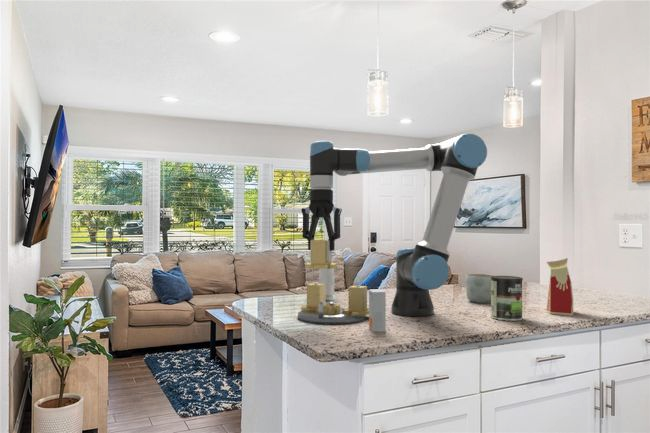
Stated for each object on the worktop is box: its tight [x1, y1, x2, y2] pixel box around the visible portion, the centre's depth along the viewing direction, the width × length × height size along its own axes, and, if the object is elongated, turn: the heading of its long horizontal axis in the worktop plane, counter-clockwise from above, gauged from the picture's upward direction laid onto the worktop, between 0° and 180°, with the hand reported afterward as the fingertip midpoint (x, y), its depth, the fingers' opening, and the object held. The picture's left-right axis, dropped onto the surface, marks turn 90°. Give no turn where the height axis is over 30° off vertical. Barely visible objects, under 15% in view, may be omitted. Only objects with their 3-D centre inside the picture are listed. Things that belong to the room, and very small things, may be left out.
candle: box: [318, 268, 336, 301], centre depth 219 cm, size 7×7×15 cm
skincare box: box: [368, 288, 387, 333], centre depth 158 cm, size 6×4×12 cm
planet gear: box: [304, 238, 338, 270], centre depth 169 cm, size 11×11×9 cm
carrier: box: [297, 282, 369, 326], centre depth 177 cm, size 27×23×11 cm
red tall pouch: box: [545, 257, 574, 317], centre depth 188 cm, size 9×9×20 cm
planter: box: [465, 273, 497, 304], centre depth 213 cm, size 12×12×11 cm
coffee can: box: [490, 275, 524, 322], centre depth 177 cm, size 10×10×14 cm
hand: (321, 260), depth 169 cm, fingers closed on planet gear, 5 cm apart
